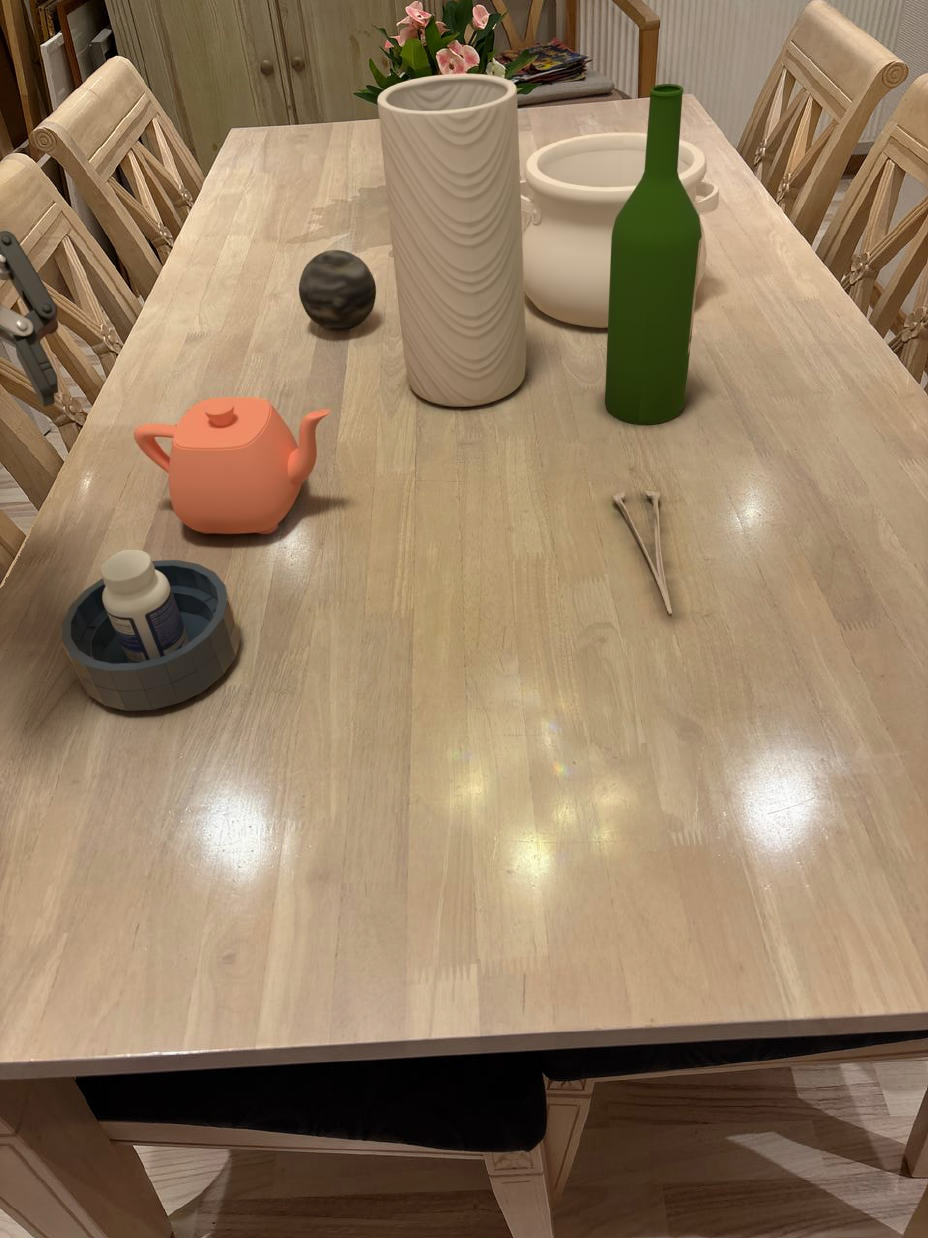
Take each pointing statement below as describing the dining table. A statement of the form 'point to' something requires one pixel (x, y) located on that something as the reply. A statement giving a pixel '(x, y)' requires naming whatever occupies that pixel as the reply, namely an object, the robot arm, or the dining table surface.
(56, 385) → the robot arm
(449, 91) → the vase
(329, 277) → the decorative stone
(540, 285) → the pot
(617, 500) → the jawbone
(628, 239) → the wine bottle
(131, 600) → the pill bottle
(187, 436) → the teapot
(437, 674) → the dining table surface
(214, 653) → the bowl
